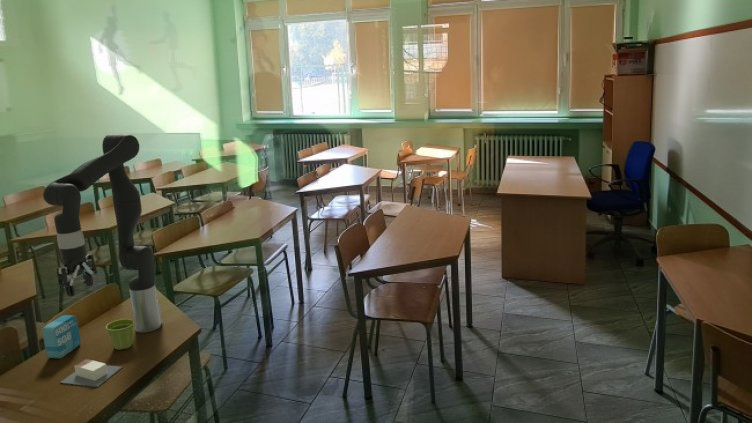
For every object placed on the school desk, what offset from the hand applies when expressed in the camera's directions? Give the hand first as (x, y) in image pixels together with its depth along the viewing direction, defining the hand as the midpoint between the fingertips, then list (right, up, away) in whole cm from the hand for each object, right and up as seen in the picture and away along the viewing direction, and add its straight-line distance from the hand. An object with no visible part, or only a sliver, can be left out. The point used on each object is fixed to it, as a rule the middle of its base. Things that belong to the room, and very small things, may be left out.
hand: (80, 290), depth 184 cm
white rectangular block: (+4, -28, -1) cm, 28 cm away
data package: (-14, -25, +16) cm, 33 cm away
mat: (+4, -28, -1) cm, 28 cm away
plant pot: (+6, -23, +19) cm, 30 cm away
